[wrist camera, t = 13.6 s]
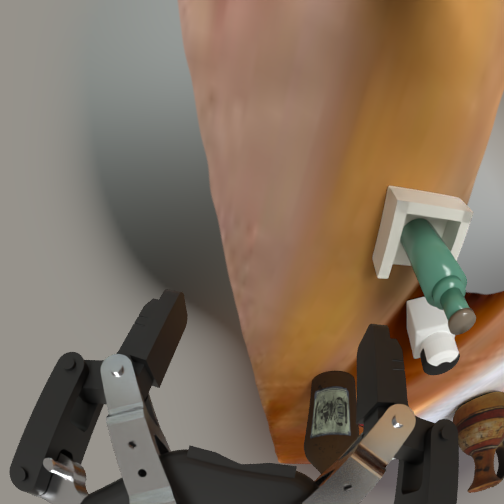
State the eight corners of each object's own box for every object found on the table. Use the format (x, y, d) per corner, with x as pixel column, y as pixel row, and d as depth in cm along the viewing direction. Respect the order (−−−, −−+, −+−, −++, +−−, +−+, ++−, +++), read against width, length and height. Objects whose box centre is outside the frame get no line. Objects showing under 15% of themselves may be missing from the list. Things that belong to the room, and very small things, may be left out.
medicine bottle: (442, 319, 44) (459, 373, 34) (406, 328, 46) (418, 384, 36) (444, 290, 40) (467, 346, 30) (405, 299, 43) (422, 359, 33)
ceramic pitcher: (473, 386, 55) (492, 484, 30) (516, 380, 52) (537, 464, 28) (438, 419, 66) (446, 504, 41) (482, 413, 63) (494, 488, 39)
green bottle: (404, 216, 34) (452, 304, 21) (437, 220, 33) (493, 303, 20) (396, 250, 37) (431, 343, 24) (428, 252, 36) (470, 340, 23)
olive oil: (358, 390, 59) (358, 492, 38) (312, 395, 62) (303, 495, 41) (356, 365, 53) (358, 484, 33) (305, 371, 57) (294, 486, 36)
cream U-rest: (388, 185, 33) (397, 199, 30) (459, 197, 32) (473, 212, 28) (372, 258, 39) (377, 278, 36) (437, 264, 38) (446, 283, 34)
